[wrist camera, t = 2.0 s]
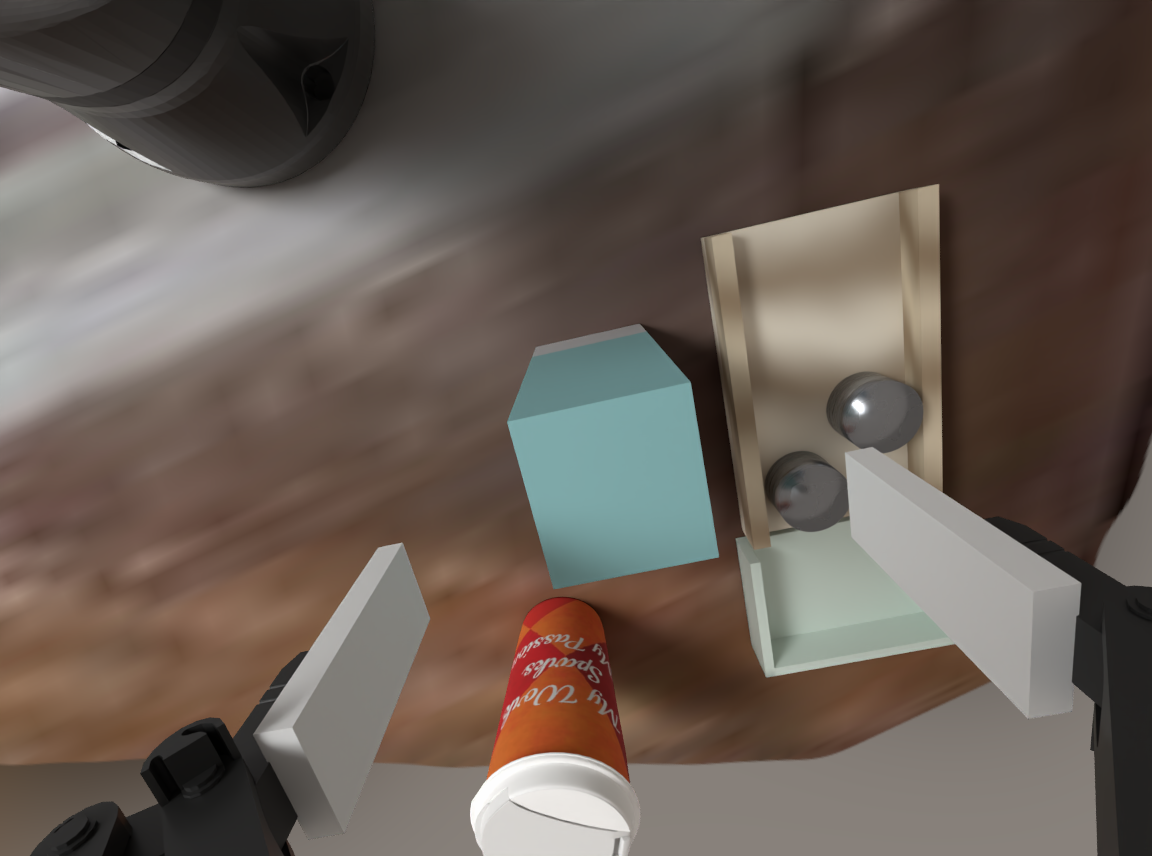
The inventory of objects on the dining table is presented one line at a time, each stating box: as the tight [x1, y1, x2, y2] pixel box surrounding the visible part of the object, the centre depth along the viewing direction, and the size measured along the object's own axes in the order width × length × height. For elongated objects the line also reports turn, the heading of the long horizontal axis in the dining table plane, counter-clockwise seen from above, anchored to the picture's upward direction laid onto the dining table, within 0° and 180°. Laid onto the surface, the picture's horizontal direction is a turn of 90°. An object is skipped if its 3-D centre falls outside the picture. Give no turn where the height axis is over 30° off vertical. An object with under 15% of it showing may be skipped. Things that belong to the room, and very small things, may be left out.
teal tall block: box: [507, 324, 719, 589], centre depth 25 cm, size 6×6×14 cm
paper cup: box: [470, 597, 641, 856], centre depth 30 cm, size 8×8×14 cm
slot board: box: [701, 184, 943, 550], centre depth 30 cm, size 18×11×2 cm, turn 13°
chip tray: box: [736, 516, 955, 678], centre depth 34 cm, size 8×12×3 cm
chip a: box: [826, 371, 923, 453], centre depth 30 cm, size 4×4×2 cm
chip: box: [765, 451, 849, 532], centre depth 31 cm, size 4×4×2 cm
